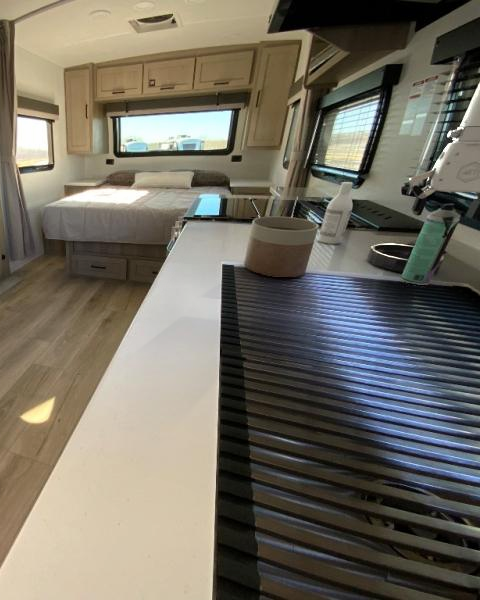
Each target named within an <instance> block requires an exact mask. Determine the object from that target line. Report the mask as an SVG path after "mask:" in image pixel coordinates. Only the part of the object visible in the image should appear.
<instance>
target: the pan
mask: <svg viewBox="0 0 480 600" xmlns="http://www.w3.org/2000/svg"><path fill="white" fill-rule="evenodd" d="M414 246H415V245H408V244H400V243H399V244H398V243H379V244H374V245H372V246H371V247H370V250H369V252H368V255H367V258H366V259H367V261H368V262H369V263H371V264H372V265H375V266H377V267H379V266H380V267H379V268H381V267H382V269H384V268H385V269H384V270H388V269H389V270H388V271H392V270H393V272H397V271H398V272H397V273H402V272H403V271H404V268H405V266H406V264H407V262H408V259H409V257H410V255H411V253H412V250H413V248H414ZM444 260H445V256H444V255H442V257H441V259H440V261H439V263H438V265H437V267H436V269H435V271H434V273H436V272H439V270H440V268H441V266H442V264H443V262H444Z"/></svg>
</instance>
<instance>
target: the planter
mask: <svg viewBox="0 0 480 600" xmlns="http://www.w3.org/2000/svg"><path fill="white" fill-rule="evenodd" d="M318 229H319V224H318V223H316V222H314V221H312V220H309V219H305V218H298V217H293V216H277V215H275V216H273V215H271V216H262V217H256V218H254V219H253V220H252V222H251V227H250V231H249V236H248V242H247V247H246V251H245V258H244V261H243V262H244V263H243V265H244V267H245V268H246V269H247V270H249V271H250V270H251V271H250V272H252V271H253V273H255V272H256V273H255V274H257V273H260V274H265V275H270V276H277V277H293V278H298V277H301V276H303V275H304V274H306V271H307V268H308V264H309V260H310V259H311V254H312V251H313V247H314V244H315V241H316V237H317V233H318ZM260 274H259V275H260Z"/></svg>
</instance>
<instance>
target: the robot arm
mask: <svg viewBox="0 0 480 600" xmlns="http://www.w3.org/2000/svg"><path fill="white" fill-rule="evenodd" d="M446 136H447V138H451V139H452V142H449V143H448V144H447V145H446V147H445V148H444V149H443V151H442V152H441V154H440V155H439V157H438V159H437V160H436V162H435V164H434V165H433V168H432V169H431V170H428V171H425V172H423V173H420V174H417V175H414V176H411V177H409V178H408V182H409V186H410V190H411V192H412V193H413V194H414V195H415V200H414V203H413V205H412V207H411V212H412V214H413V215H414V216H417V217H420V216H422V213H423V211H424V209H425V207H426V204H427V202H428V198H427V197H428V196H430V195H432V194H433V193H434V192H445V193H446V192H448V193H473V194H474V193H475V195H476V196H477V197H476V198H474V199H473V200H472V202H471V204H470V206H469V208H468V210H467V212H466V214H465V216H466V217H467V218H470V219H471V220H476V219H478V217H479V216H480V81H479V83H478V85H477V87H476V89H475V92H474V94H473V95H472V97H471V100H470V103H469V105H468V108H467V109H466V111H465V114H464V116H463V119H462V121H461V123H460V125H459V127H457V129H454V130H449V131H448V133H447V135H446ZM426 179H427V180H426ZM423 180H426V183H425V186H424V187H423V188H421V186H420V182H421V181H423Z"/></svg>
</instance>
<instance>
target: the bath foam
mask: <svg viewBox="0 0 480 600" xmlns="http://www.w3.org/2000/svg"><path fill="white" fill-rule="evenodd" d="M353 184H354V183H353V182H352V181H351V182H350V181H342V182H341V184H340V187H339V191H338V194H336V195H335V196H334V197H333V198H332V199H331V200H330V201H329V203H328V204H327V206H326V209H325V213H324V216H323V219H322V223H321V225H320V230H319V232H318V236H317V240H318V242H320V243H323V244H327V245H328V244H329V245H338V244H341V243H342V241H343V238H344V235H345V232H346V230H347V226H348V224H349V220H350V217H351V214H352V211H353V205H354V203H353V200H352V197H351V194H350V193H351V190H352V188H353Z"/></svg>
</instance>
